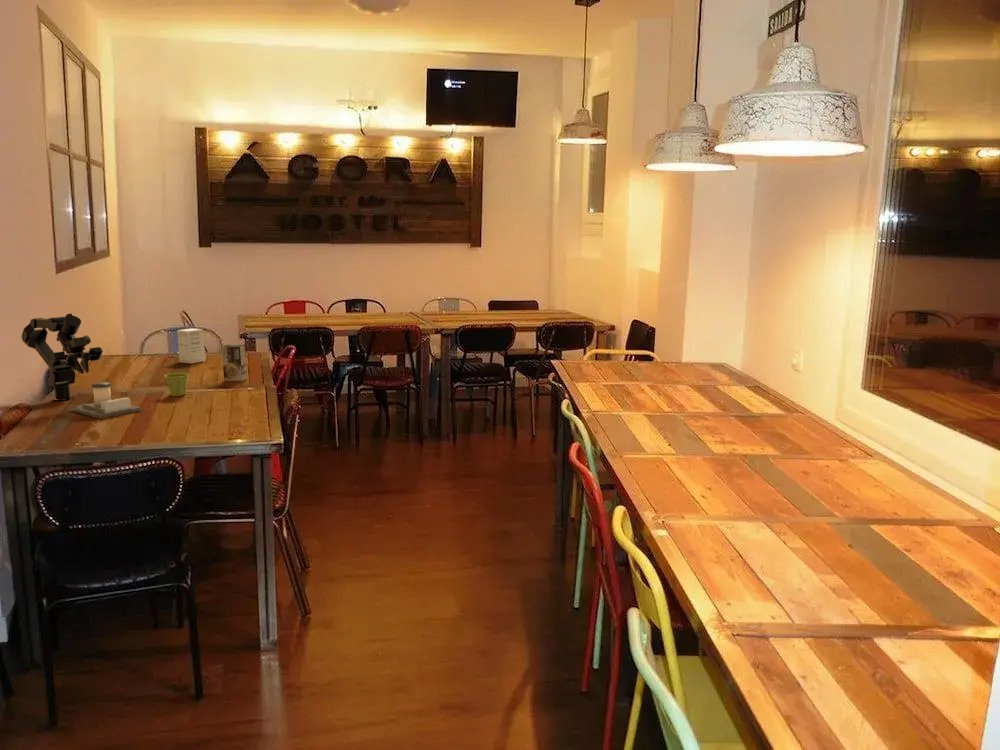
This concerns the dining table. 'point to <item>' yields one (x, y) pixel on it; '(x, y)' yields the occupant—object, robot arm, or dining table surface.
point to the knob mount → (107, 408)
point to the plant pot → (177, 383)
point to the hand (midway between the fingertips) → (85, 372)
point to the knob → (101, 392)
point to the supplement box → (191, 345)
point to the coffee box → (234, 362)
